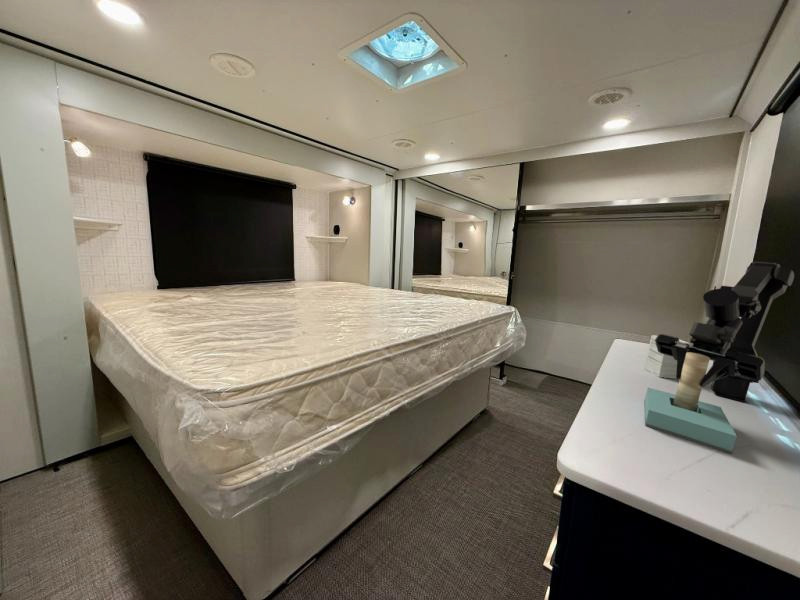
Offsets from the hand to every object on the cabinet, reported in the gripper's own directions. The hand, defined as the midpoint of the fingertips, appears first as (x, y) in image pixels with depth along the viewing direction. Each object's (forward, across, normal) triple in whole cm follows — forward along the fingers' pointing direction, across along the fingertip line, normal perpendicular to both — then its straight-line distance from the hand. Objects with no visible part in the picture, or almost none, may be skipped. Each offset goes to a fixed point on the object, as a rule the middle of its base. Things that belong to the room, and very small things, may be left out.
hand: (688, 381), depth 72 cm
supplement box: (-17, -16, +32) cm, 40 cm away
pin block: (+8, +1, +7) cm, 10 cm away
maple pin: (+4, 0, +6) cm, 8 cm away
